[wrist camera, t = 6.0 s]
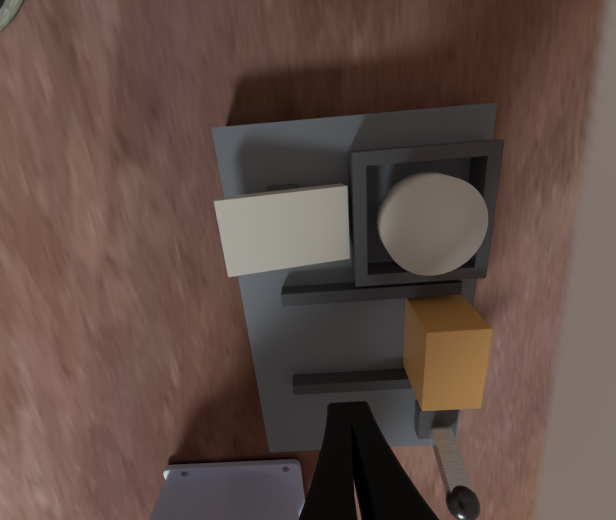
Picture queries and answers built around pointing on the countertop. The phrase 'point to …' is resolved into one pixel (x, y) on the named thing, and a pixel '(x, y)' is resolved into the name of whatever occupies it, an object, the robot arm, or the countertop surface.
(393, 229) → the button
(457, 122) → the console
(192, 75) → the countertop surface
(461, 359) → the slider
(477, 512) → the lever
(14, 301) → the countertop surface
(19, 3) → the coffee can
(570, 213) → the countertop surface
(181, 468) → the robot arm
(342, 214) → the beige flat panel
